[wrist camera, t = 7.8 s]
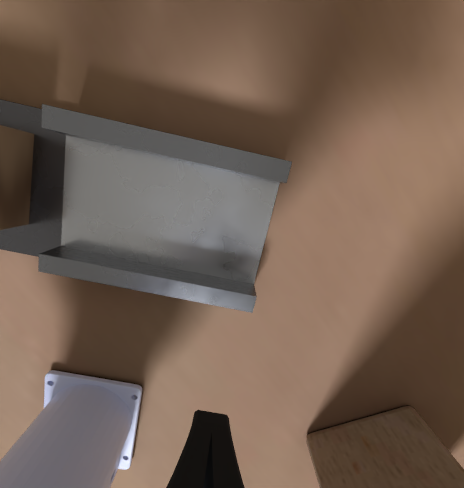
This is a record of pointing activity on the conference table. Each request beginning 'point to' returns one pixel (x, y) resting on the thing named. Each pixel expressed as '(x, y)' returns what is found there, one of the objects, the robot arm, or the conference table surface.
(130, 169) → the chute
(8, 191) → the walnut block
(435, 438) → the wooden block
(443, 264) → the conference table surface
